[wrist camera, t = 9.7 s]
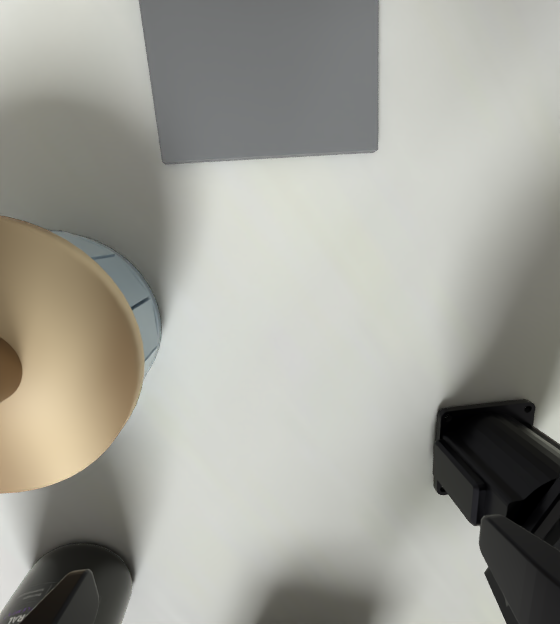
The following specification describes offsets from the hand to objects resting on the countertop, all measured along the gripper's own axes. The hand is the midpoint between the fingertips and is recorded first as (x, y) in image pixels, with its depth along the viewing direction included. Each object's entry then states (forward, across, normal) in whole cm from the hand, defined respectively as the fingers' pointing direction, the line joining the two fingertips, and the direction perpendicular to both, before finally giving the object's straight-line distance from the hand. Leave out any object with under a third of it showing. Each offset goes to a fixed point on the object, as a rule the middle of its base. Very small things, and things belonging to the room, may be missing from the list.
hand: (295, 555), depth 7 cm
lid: (+8, +11, -3) cm, 14 cm away
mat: (+12, -1, -16) cm, 21 cm away
